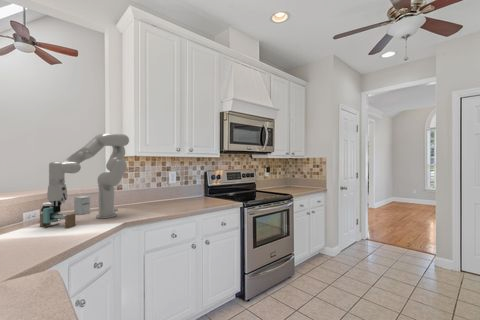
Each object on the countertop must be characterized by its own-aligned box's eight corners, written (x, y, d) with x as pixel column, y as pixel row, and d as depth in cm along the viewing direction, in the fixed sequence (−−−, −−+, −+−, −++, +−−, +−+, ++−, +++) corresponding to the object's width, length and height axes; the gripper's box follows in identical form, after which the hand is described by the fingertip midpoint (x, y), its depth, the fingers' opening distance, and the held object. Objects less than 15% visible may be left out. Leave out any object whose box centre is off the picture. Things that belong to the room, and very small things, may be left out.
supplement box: (81, 214, 171) (81, 197, 171) (73, 214, 174) (73, 197, 174) (90, 212, 178) (90, 196, 178) (83, 212, 181) (83, 195, 181)
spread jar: (45, 218, 160) (45, 201, 160) (65, 217, 164) (65, 200, 164) (37, 223, 148) (37, 205, 148) (58, 221, 152) (58, 204, 152)
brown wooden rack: (36, 227, 140) (36, 214, 140) (51, 223, 148) (51, 211, 148) (64, 229, 136) (64, 216, 136) (78, 225, 145) (78, 212, 145)
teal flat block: (43, 223, 140) (43, 208, 140) (54, 220, 147) (54, 206, 147) (47, 223, 139) (47, 209, 139) (58, 220, 146) (58, 206, 146)
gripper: (72, 181, 145) (72, 211, 145) (52, 181, 147) (52, 210, 147) (61, 183, 137) (61, 214, 137) (40, 182, 140) (40, 213, 140)
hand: (56, 212), depth 142 cm, fingers closed
